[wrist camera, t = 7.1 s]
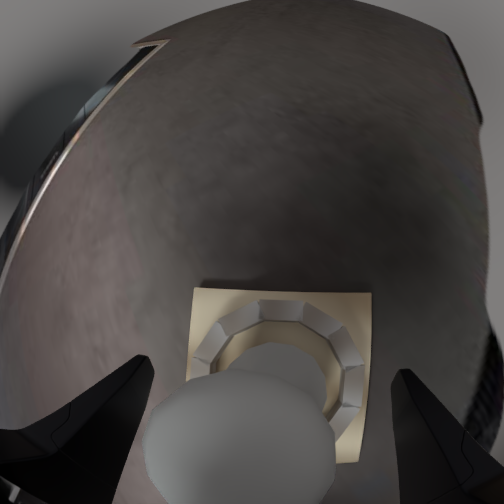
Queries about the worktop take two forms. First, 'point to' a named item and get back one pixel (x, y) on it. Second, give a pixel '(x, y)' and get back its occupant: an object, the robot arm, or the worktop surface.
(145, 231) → the worktop surface
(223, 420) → the salt shaker
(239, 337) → the ring stand
